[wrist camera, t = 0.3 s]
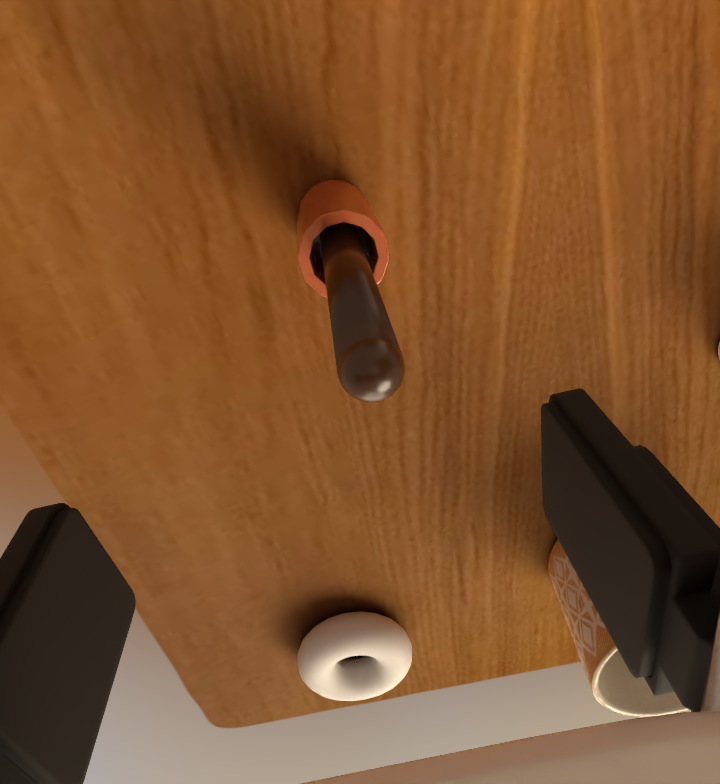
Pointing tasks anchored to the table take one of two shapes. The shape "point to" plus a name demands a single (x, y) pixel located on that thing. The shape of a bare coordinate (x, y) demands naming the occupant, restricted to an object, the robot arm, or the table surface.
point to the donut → (353, 638)
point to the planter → (602, 649)
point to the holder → (329, 208)
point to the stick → (359, 319)
